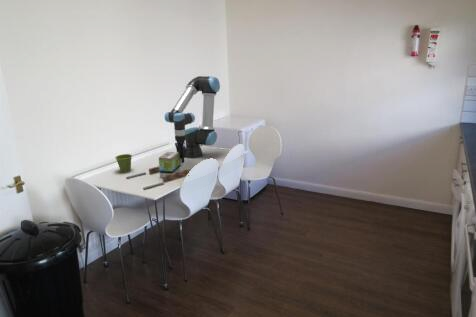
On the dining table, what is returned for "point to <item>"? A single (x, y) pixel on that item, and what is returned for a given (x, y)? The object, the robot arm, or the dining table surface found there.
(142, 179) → the dining table surface
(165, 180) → the walnut chute
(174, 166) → the tea box
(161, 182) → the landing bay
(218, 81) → the robot arm
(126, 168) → the plant pot
